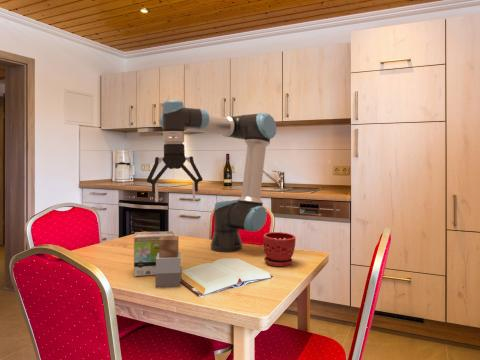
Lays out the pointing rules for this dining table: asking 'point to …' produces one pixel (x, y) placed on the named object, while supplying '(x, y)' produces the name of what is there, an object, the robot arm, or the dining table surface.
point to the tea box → (147, 251)
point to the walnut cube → (168, 246)
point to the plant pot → (279, 248)
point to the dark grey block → (168, 280)
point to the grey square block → (168, 264)
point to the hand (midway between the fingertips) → (175, 201)
